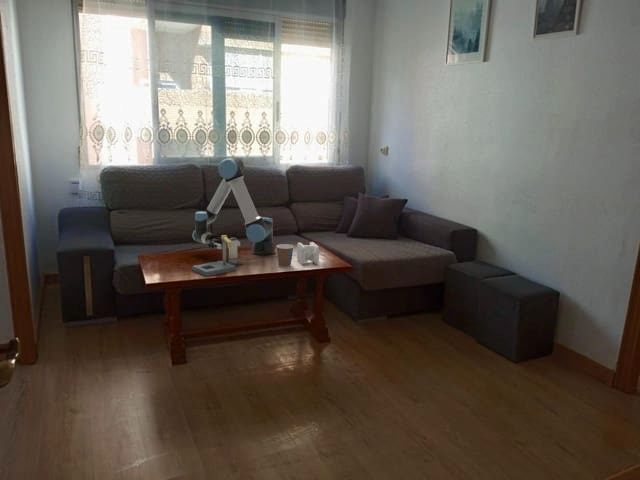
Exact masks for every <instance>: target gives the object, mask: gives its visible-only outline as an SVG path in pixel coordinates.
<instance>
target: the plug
mask: <svg viewBox="0 0 640 480" xmlns="http://www.w3.org/2000/svg"><path fill="white" fill-rule="evenodd" d="M229 238H230V239H229V240H230V241H231V248H228V257H227V259H228V262H229V263H230V264H237V263H238V262H239V261H238V259H239V256H238V246H237V241H238V238H237V237H229Z"/></svg>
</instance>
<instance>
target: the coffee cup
mask: <svg viewBox="0 0 640 480" xmlns="http://www.w3.org/2000/svg"><path fill="white" fill-rule="evenodd" d="M294 247H295V246H294V245H293V244H290V243H289V244H287V243H283V244H282V243H280V244H277V245H276V247H275V248H276V253H277V262H278V263H277V264H278V266H279V267H281V268H289V267H291V265H292V260H293V251H294Z"/></svg>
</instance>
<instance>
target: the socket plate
mask: <svg viewBox="0 0 640 480" xmlns="http://www.w3.org/2000/svg"><path fill="white" fill-rule="evenodd" d="M226 262H227V243H226V241H225V240H223V244H222V260H217V261H212V262H207V263H201V264H197V265H192V266H191V268H192V271H193V272H195V273H198V274H201V275H203V276H205V277H209V276H210V277H211V276H216V275H219V274H225V273H229V272H234V271H237V270H236V269H237V266H234V265H231V264H228V263H226Z"/></svg>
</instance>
